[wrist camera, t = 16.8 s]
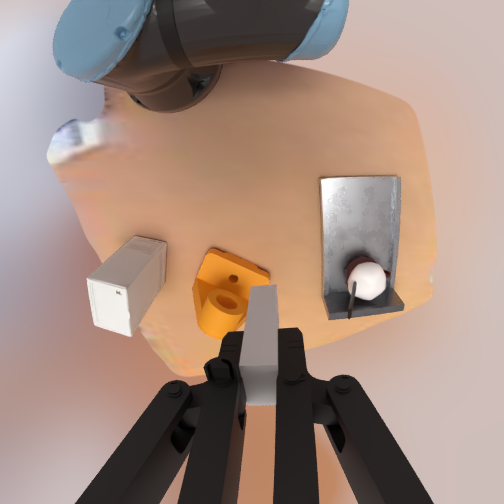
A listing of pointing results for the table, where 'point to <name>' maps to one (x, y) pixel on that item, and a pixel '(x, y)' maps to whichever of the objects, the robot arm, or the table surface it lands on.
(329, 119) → the table surface
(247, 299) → the bracket
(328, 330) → the table surface
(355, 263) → the cocoa
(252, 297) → the robot arm
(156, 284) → the skincare box
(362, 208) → the grey dustpan
